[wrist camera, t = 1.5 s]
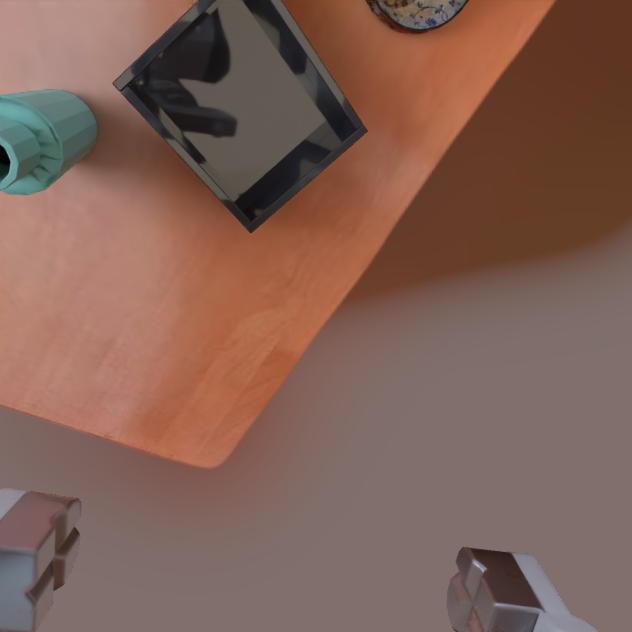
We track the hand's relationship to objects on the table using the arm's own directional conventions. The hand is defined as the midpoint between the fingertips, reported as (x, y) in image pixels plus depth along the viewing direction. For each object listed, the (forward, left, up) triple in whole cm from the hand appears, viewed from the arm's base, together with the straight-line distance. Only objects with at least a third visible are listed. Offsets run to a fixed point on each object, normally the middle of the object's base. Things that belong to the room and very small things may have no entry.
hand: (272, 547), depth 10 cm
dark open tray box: (-2, +7, -44) cm, 45 cm away
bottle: (-11, -7, -44) cm, 46 cm away
